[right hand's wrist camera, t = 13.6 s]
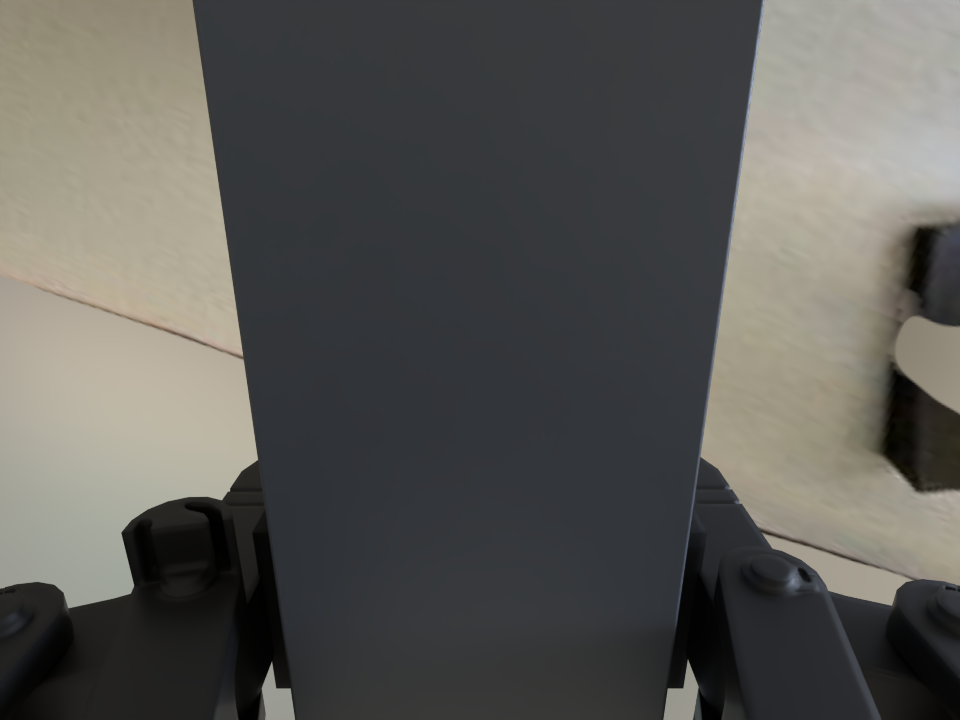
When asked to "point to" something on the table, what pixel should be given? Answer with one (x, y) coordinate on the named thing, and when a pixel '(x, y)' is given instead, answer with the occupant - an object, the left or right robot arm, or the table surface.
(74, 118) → the table surface
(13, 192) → the table surface
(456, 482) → the post
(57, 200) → the table surface
